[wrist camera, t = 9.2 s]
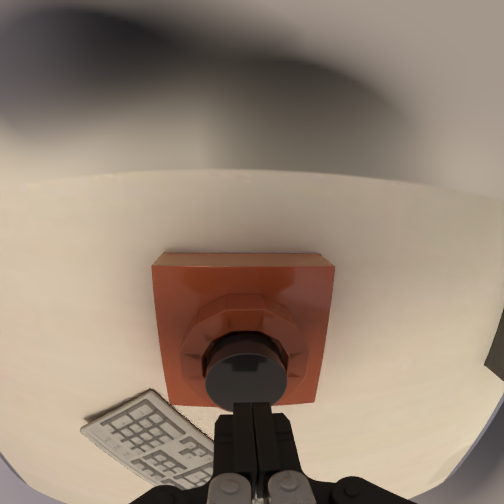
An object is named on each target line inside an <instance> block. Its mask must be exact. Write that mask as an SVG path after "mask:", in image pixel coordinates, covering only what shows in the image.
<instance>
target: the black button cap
mask: <svg viewBox="0 0 504 504" xmlns="http://www.w3.org/2000/svg"><path fill="white" fill-rule="evenodd" d="M205 388H206V391H207V394H208V395H209V397H210V399H211V400H212V401H213V402H214V403H215V404H217V405H218V406H219V407H221V408H223V409H225V410H228V411H231V412H233V403H251V409H252V402H270V406H273V405H274V404H275V403H277V402H278V401H279V400H280V399H281V397H282V396H283V394H284V393H285V390H286V388H287V375H286V371H285V368H284V364H283V361H282V357H281V354H280V351H279V349H278V348H277V346H276V345H275V344H274V343H273V342H272V341H271V340H269V339H268V338H266V337H264V336H262V335H259V334H256V333H250V332H242V333H235V334H231V335H229V336H226V337H224V338H222V339H221V340H220V341H218V342H217V343H216V344H215V345H214V346H213V347H212V349H211V351H210V352H209V355H208V360H207V368H206V377H205Z"/></svg>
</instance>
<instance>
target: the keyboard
mask: <svg viewBox="0 0 504 504" xmlns="http://www.w3.org/2000/svg"><path fill="white" fill-rule="evenodd" d="M80 432H81V433H82V434H83V435H84V436H85V437H87V438H88V439H89V440H90V441H91V442H93V443H94V444H95V445H96V446H98V447H99V448H100V449H101V450H103V451H104V452H105V453H107V454H108V455H109V456H111V457H112V458H113V459H115V460H116V461H117V462H119V463H120V464H122V465H123V466H124V467H126V468H127V469H129V470H130V471H132V472H133V473H135V474H136V475H138V476H139V477H141V478H142V479H144V480H146V481H147V482H149V483H150V484H152V485H154V486H155V487H156V486H159V485H172V486H175V487H178V488H179V489H181V490H186V489H192V488H196V487H200V486H202V485H204V484H206V483H207V482H208V481H209V480H210V478H211V477H212V474H213V457H214V442H213V441H211V440H210V439H209V438H208V437H206V436H205V435H204V434H202V433H201V432H200V431H199V430H197V429H196V428H195V427H194V426H193V425H191V424H190V423H189V422H188V421H187V420H185V419H184V418H183V417H182V416H181V415H180V414H178V413H177V412H176V411H175V410H174V409H173V408H172V407H171V406H169V405H168V404H167V403H166V402H165V401H164V400H163V399H162V398H161V397H160V396H159V395H157V394H156V393H155V392H154V391H149V392H147V393H145V394H143V395H142V396H140V397H138V398H136V399H134V400H133V401H131V402H129V403H127V404H125V405H123V406H121V407H119V408H118V409H116V410H114V411H112V412H110V413H108V414H106V415H104V416H102V417H100V418H98V419H96V420H94V421H92V422H90V423H88V424H86V425H84V426H82V427H81V428H80ZM252 504H264V502H263V498H257V494H256V495H255V499H253V500H252Z"/></svg>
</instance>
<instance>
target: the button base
mask: <svg viewBox="0 0 504 504" xmlns="http://www.w3.org/2000/svg"><path fill="white" fill-rule="evenodd" d="M151 267H152V280H153V291H154V302H155V311H156V320H157V328H158V336H159V343H160V350H161V357H162V363H163V369H164V375H165V381H166V387H167V392H168V397H169V402H170V405H183V406H203V407H218V408H221V407H219V406H218V405H217V404H215V403H214V402H213V401H212V400H211V399H210V397H209V395H208V394H207V391H206V388H205V377H206V368H207V360H208V355H209V352H210V351H211V349H212V347H213V346H214V345H215V344H216V343H217V342H218V341H220V340H221V339H222V338H224V337H226V336H229V335H231V334H235V333H242V332H250V333H256V334H259V335H262V336H264V337H266V338H268V339H269V340H271V341H272V342H273V343H274V344H275V345H276V346H277V348H278V349H279V351H280V354H281V357H282V361H283V364H284V368H285V371H286V375H287V388H286V390H285V393H284V394H283V396H282V397H281V399H280V400H279V401H278V402H277V403H275V404H274V405H273V406H277V405H291V404H303V403H312V402H314V401H315V396H316V391H317V386H318V381H319V375H320V370H321V364H322V359H323V353H324V347H325V340H326V334H327V327H328V320H329V313H330V306H331V298H332V290H333V281H334V272H335V266H334V265H333V264H331V263H330V262H329V261H328V260H327V259H325V258H324V257H323V256H322V255H321V254H297V253H163V254H162V255H161V256H160V257H159V258H158V259H157V260H156V261H155V262H154V264H153V265H152V266H151ZM221 409H223V408H221ZM224 410H225V409H224ZM226 411H228V410H226Z"/></svg>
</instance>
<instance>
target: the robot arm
mask: <svg viewBox="0 0 504 504" xmlns="http://www.w3.org/2000/svg"><path fill="white" fill-rule="evenodd" d="M214 434H215V435H214V457H213V474H212V477H211V478H210V480H209V481H208V482H207V483H206V484H204V485H202V486H200V487H196V488H192V489H186V490H181V489H179V488H178V487H175V486H172V485H159V486H156V487H154V488H152V489H151V490H149V491H148V492H146V493H145V494H143V495H142V496H140V497H139V498H137V499H135V500H134V501H132V502H131V503H129V504H252V500H253V499H255V495H256V494H257V498H263V502H264V504H417V503H414V502H412V501H409V500H407V499H405V498H402V497H400V496H398V495H396V494H393V493H391V492H389V491H387V490H385V489H383V488H381V487H379V486H377V485H374V484H372V483H370V482H368V481H367V480H365V479H363V478H360V477H355V476H350V477H345V478H342V479H340V480H339V481H338V482H337V483H332V482H321V481H316V480H313V479H311V478H309V477H307V476H306V475H305V474H304V473H303V471H302V469H301V466H300V462H299V457H298V453H297V449H296V445H295V441H294V437H293V433H292V428H291V424H290V421H289V420H288V418H287V417H286V416H285V415H284V414H283V413H273V414H272V411H271V406H270V402H252V409H251V403H233V415H220V416H219V418H218V419H217V421H216V422H215V432H214Z"/></svg>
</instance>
